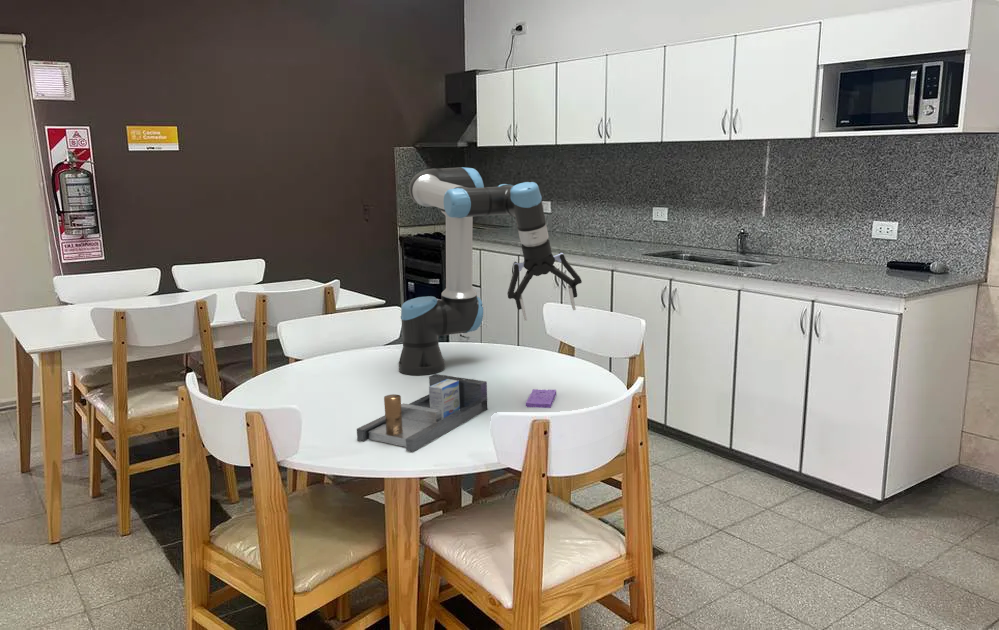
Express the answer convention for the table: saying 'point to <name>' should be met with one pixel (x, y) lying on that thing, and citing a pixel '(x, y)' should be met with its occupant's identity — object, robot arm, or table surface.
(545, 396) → the sponges
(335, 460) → the table surface
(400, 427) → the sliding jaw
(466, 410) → the vise frame
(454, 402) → the medicine box
